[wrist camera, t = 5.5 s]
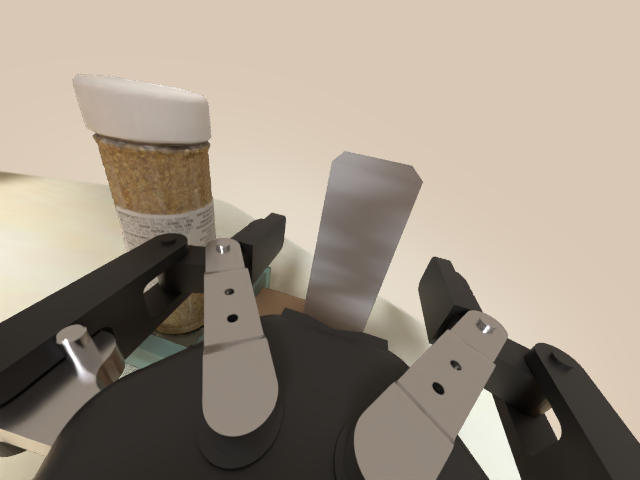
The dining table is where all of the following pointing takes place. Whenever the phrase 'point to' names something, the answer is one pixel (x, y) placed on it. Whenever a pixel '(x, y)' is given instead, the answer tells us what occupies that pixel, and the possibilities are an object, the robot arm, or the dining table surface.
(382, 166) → the stand
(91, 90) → the sprinkles bottle
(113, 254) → the dining table surface
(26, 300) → the dining table surface
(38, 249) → the dining table surface
